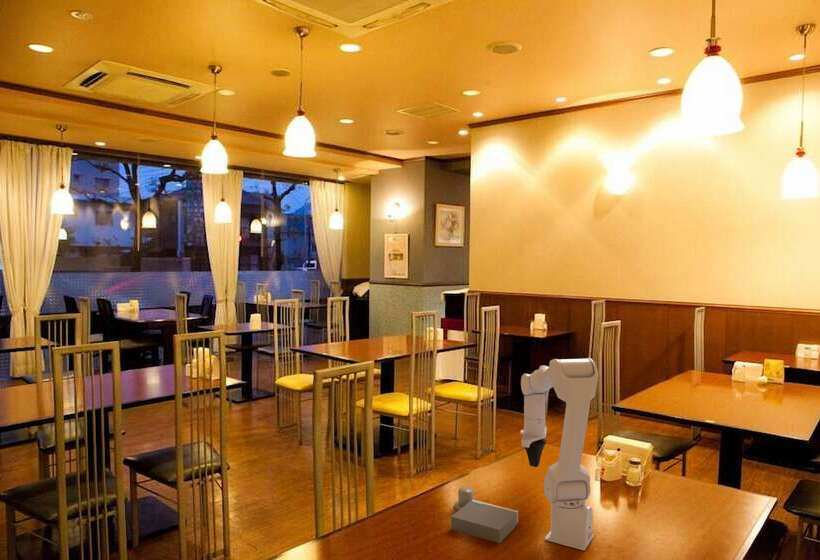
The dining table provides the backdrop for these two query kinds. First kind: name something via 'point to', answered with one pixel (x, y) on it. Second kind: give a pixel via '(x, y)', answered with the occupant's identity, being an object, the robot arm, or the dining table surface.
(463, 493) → the grey cup
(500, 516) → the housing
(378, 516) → the dining table surface
